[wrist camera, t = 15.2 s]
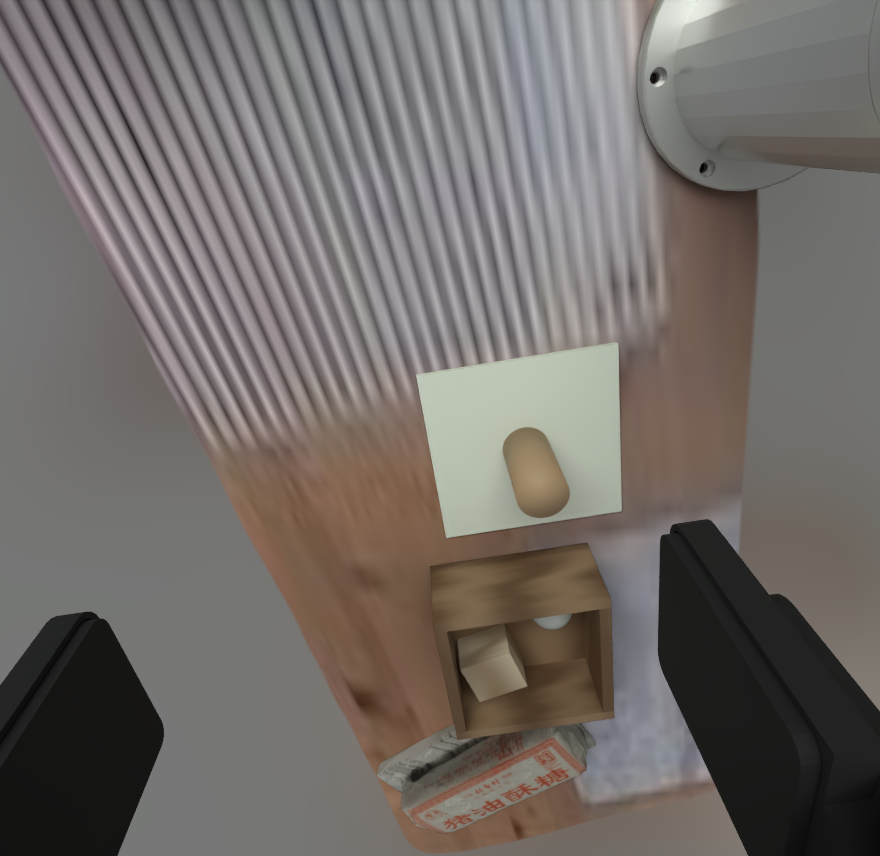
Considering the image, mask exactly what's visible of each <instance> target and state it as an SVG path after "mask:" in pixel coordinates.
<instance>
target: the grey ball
mask: <svg viewBox="0 0 880 856" xmlns="http://www.w3.org/2000/svg"><path fill="white" fill-rule="evenodd" d="M571 616H572V613H571V614H564V615H558V616H551V617H544V618H537V619H534V621H535V622H536V623H537V624H538V625H540V626H541V627H543V628H546V629H558V628H561V627H563V626H564V625H565V624H567V623H568V621H569V620H570V618H571Z"/></svg>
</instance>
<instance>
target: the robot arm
mask: <svg viewBox="0 0 880 856" xmlns="http://www.w3.org/2000/svg"><path fill="white" fill-rule="evenodd" d="M652 73H655V74H656V77H657V78H656V81H655V83H653V84H652V83H651V82H650V75H651V74H652ZM637 91H638V99H639V107H640V113H641V116H642V119H643V122H644V125H645V129H646V132H647V135H648V136H649V138H650V140H651V142H652V143H653V145H654V147H655V149H656V150H657V152H658V154H659V155H660V156H661V157H662V158H663V159H664V160H665V161H666V163H667V164H668V165H669V166H670V167H671V168H672V169H673V170H675V171H676V172H678V173H679V174H680V175H682V176H683V177H685V178H686V179H688V180H690V181H692V182H695V183H697V184H700V185H702V186H705V187H708V188H714V189H719V190H724V191H749V190H755V189H761V188H766V187H769V186H771V185H774V184H777V183H780V182H783V181H785V180H788V179H790V178H791V177H793V176H795V175H797V174H799V173H800V172H802V171H804V170H806V169H807V168H809V167H813V168H825V169H835V170H846V171H857V172H869V173H879V174H880V0H657V1H656V3H655V5H654V6H653V9H652V12H651V15H650V17H649V20H648V23H647V26H646V28H645V31H644V34H643V39H642V44H641V49H640V54H639V59H638V75H637ZM702 163H703V164H704V170H703V171H702V172H700V171H699V169H700V166H701V164H702ZM658 656H659V661H660V665H661V669H662V671H663V674H664V676H665V678H666V680H667V683H668V685H669V687H670V689H671V691H672V693H673V696H674V698H675V700H676V702H677V704H678V706H679V708H680V711H681V713H682V715H683V717H684V719H685V721H686V723H687V726H688V728H689V730H690V732H691V734H692V736H693V738H694V741H695V743H696V745H697V747H698V749H699V751H700V753H701V756H702V758H703V760H704V762H705V764H706V766H707V768H708V771H709V773H710V775H711V777H712V779H713V781H714V783H715V786H716V788H717V790H718V792H719V794H720V796H721V798H722V800H723V803H724V804H725V807H726V809H727V811H728V813H729V815H730V818H731V820H732V822H733V824H734V826H735V828H736V831H737V833H738V835H739V837H740V839H741V841H742V843H743V846H744V848H745V850H746V852H747V854H748V856H880V711H879V710H878V709H877V707H876V706H875V705H874V704H873V703H872V701H871V700H870V699H869V698H868V696H867V695H866V694H865V693H864V691H863V690H862V689H861V688H860V686H859V685H858V684H857V683H856V682H855V680H854V679H853V678H852V677H851V675H850V674H849V673H848V672H847V670H846V669H845V668H844V667H843V665H842V664H841V663H840V662H839V661H838V659H837V658H836V657H835V656H834V654H833V653H832V652H831V651H830V649H829V648H828V647H827V646H826V644H825V643H824V642H823V641H822V640H821V638H820V637H819V636H818V635H817V633H816V632H815V631H814V630H813V628H812V627H811V626H810V625H809V624H808V622H807V621H806V620H805V619H804V617H803V616H802V615H801V614H800V612H799V611H798V610H797V609H796V607H795V606H794V605H793V604H792V603H791V602H790V601H789V600H788V599H787V598H786V597H784V596H782V595H780V594H773V595H769V594H768V593H767V592H766V590H765V589H764V588H763V586H762V585H761V584H760V583H759V581H758V580H757V579H756V577H755V576H754V575H753V574H752V572H751V571H750V570H749V568H748V567H747V566H746V565H745V563H744V562H743V561H742V559H741V558H740V557H739V555H738V554H737V553H736V552H735V550H734V549H733V548H732V546H731V545H730V544H729V542H728V541H727V540H726V539H725V537H724V536H723V535H722V533H721V532H720V531H719V530H718V528H717V527H716V526H715V524H714V523H713V522H712V521H711V520H708V519H705V520H698V521H692V522H685V523H678V524H674V525H672V527H671V529H670V534H666V535H662V536H661V539H660V575H659V622H658ZM163 737H164V728H163V724H162V721H161V719H160V717H159V715H158V714H157V712H156V710H155V708H154V707H153V704H152V702H151V700H150V699H149V697H148V695H147V693H146V691H145V690H144V688H143V686H142V685H141V682H140V680H139V678H138V677H137V675H136V673H135V671H134V669H133V667H132V665H131V664H130V662H129V660H128V658H127V656H126V654H125V653H124V651H123V649H122V647H121V645H120V643H119V642H118V640H117V638H116V636H115V634H114V632H113V631H112V629H111V627H110V625H109V623H108V622H107V621H106V620H104V619H99V617H98V616H97V615H96V614H95V613H93V612H82V613H75V614H69V615H62V616H56V617H54V618H51V619H50V620H49V621H48V622H47V623H46V624H45V626H44V627H43V628H42V630H41V631H40V633H39V634H38V635H37V637H36V638H35V639H34V640H33V642H32V643H31V645H30V646H29V647H28V649H27V650H26V651H25V653H24V654H23V655H22V657H21V658H20V659H19V661H18V662H17V663H16V665H15V666H14V667H13V669H12V670H11V672H10V673H9V674H8V676H7V677H6V678H5V680H4V681H3V682H2V684H1V685H0V856H117V855H118V853H119V850H120V848H121V845H122V843H123V840H124V838H125V835H126V833H127V830H128V828H129V826H130V823H131V820H132V818H133V816H134V813H135V811H136V808H137V806H138V803H139V801H140V798H141V796H142V793H143V791H144V788H145V786H146V783H147V781H148V779H149V776H150V774H151V771H152V768H153V766H154V764H155V761H156V759H157V756H158V753H159V751H160V748H161V746H162V743H163Z"/></svg>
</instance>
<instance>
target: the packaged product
mask: <svg viewBox="0 0 880 856" xmlns="http://www.w3.org/2000/svg"><path fill="white" fill-rule="evenodd" d="M594 745H596V742H595V740H594V739H593V738H592V736H591V735H590V734H589V733H588V732H587V731H586V730H585V729H584V727H583V726H582V725H581V724H580V723H576V724H569V725H562V726H555V727H548V728H541V729H533V730H526V731H519V732H512V733H505V734H498V735H491V736H484V737H477V738H470V739H462V740H457V736H456V731H455V726H454V724H452V725H450V726H448V727H446V728H444V729H442V730H440V731H439V732H437V733H435V734H433V735H431V736H429V737H427V738H425V739H423V740H421V741H419V742H418V743H416V744H414V745H412V746H410V747H409V748H407V749H405V750H403V751H401V752H400V753H398V754H396V755H394V756H392V757H390V758H389V759H387V760H385V761H384V762H382V763H380V764H379V768H378V772H377V776H378V777H379V778H381V779H382V780H383V781H384V782H386V783H387V784H389V785H391V786H392V787H393V788H395V789H396V790H398V791H399V792H401V793H402V798H401V809H402V810H403V811H404V812H405V813H406V815H408V816H409V818H410V819H411V820H412V821H413V823H414V824H415V825H416V826H418V827H420V828H426V829H429V830H433V831H435V832H437V833H444V834H447V833H451V832H454V831H456V830H458V829H460V828H463V827H465V826H467V825H470V824H472V823H474V822H475V821H477V820H480V819H483V818H485V817H486V816H489V815H491V814H493V813H495V812H497V811H500V810H502V809H504V808H506V807H509V806H511V805H514V804H516V803H518V802H519V801H521V800H524V799H527V798H529V797H531V796H533V795H536V794H538V793H540V792H542V791H544V790H546V789H548V788H550V787H552V786H555V785H557V784H561V783H562V782H564V781H565V780H569V779H570V778H573V777H576V776H578V775H580V774H581V773H583V772H584V771H586V769H587V764H586V759H585V758H586V756H587V750H588V748H590V747H592V746H594Z"/></svg>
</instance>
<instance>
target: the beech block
mask: <svg viewBox="0 0 880 856" xmlns="http://www.w3.org/2000/svg"><path fill="white" fill-rule="evenodd" d="M457 640H458V651H459V662H460V670H461V672H462V673H463V675H464V677H465V678H466V680H467V682H468V683H469V685H470V687H471V688H472V690H473V692H474V693H475V695H476V697H477V698H478V700H479V702H482V701H485V700H488V699H491V698H494V697H497V696H500V695H503V694H506V693H509V692H512V691H515V690H518V689H521V688H524V687H527V682H526V677H525V672H524V667H523V663H522V658H521V655H520V653H519V651H518V649H517V647H516V645H515V643H514V641H513V640H512V638H511V636H510V634H509V632H508V630H507V628H506V626H505V624H504V623H503V624H500V625H497V626H494V627H491V628H488V629H486V630H483V631H480V632H477V633H474V634H472V635H469V636H466V637H463V638H460V639H457Z"/></svg>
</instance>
